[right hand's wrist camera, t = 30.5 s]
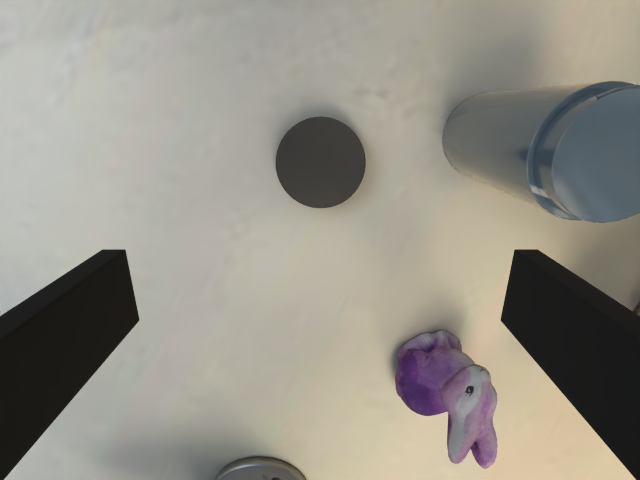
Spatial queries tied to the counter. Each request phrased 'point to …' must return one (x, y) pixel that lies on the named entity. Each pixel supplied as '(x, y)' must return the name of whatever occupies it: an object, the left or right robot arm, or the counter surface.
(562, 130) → the jar
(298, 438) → the counter surface
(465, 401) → the figurine
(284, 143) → the lid
